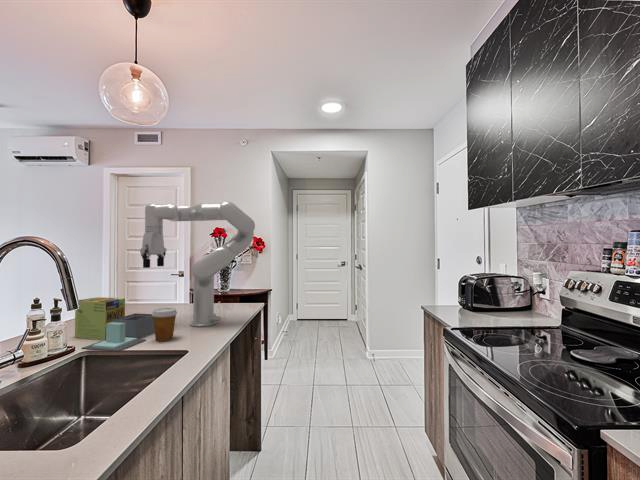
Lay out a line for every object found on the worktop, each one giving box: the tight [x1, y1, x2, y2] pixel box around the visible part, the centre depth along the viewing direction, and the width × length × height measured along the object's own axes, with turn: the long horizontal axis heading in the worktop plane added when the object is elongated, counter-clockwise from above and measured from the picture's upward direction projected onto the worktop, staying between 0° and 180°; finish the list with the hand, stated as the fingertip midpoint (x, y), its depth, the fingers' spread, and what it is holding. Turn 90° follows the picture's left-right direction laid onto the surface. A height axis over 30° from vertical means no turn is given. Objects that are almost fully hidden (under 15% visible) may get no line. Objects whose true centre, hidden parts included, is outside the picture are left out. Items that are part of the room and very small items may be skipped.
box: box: [112, 312, 155, 339], centre depth 141 cm, size 11×13×8 cm
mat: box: [81, 338, 147, 353], centre depth 128 cm, size 16×14×1 cm
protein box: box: [74, 296, 126, 341], centre depth 140 cm, size 10×15×16 cm
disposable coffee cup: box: [151, 307, 178, 342], centre depth 135 cm, size 10×10×12 cm
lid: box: [92, 322, 137, 349], centre depth 128 cm, size 10×12×8 cm
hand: (153, 267), depth 155 cm, fingers open, 9 cm apart
